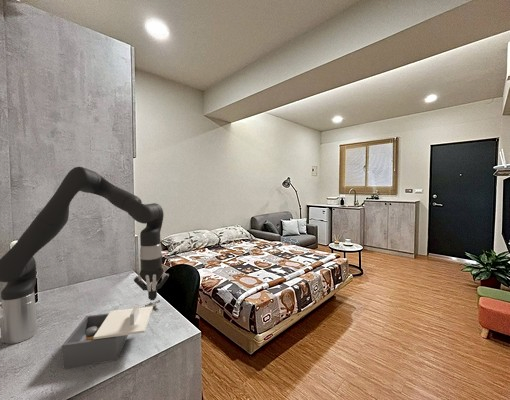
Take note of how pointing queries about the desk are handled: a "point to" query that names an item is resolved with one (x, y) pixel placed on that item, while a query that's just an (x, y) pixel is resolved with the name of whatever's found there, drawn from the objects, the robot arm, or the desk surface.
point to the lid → (124, 322)
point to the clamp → (153, 305)
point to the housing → (90, 345)
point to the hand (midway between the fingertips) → (152, 299)
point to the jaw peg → (91, 333)
